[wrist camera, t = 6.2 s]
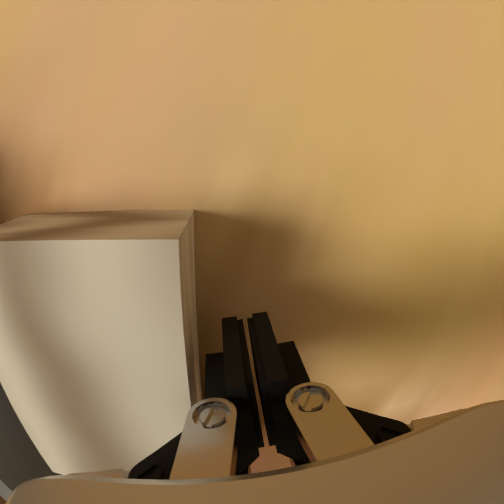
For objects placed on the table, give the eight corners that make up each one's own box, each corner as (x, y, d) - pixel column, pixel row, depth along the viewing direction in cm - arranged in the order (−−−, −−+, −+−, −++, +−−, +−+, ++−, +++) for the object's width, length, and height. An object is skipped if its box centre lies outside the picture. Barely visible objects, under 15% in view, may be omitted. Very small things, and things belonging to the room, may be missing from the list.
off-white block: (194, 208, 12) (178, 239, 7) (204, 423, 16) (204, 494, 11) (28, 213, 11) (-42, 242, 7) (77, 412, 15) (52, 471, 10)
